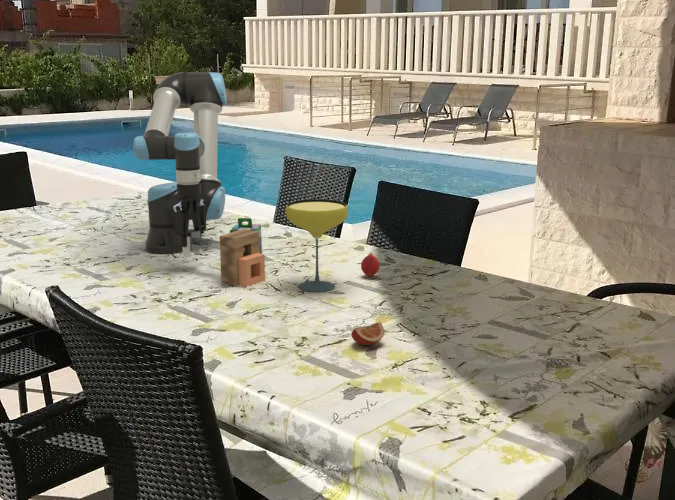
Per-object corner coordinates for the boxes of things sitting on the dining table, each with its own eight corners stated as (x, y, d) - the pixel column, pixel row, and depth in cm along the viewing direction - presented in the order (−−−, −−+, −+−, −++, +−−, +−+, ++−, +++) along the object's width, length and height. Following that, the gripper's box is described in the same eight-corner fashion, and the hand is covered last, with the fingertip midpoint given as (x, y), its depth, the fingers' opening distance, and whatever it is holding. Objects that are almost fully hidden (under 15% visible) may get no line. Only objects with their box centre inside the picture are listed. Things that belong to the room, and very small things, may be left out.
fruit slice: (372, 336, 188) (372, 317, 186) (390, 344, 183) (390, 325, 181) (345, 344, 183) (346, 324, 182) (363, 352, 178) (363, 332, 176)
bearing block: (221, 283, 231) (219, 235, 227) (245, 274, 239) (243, 229, 236) (236, 286, 227) (234, 238, 224) (259, 278, 236) (258, 231, 232)
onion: (377, 280, 234) (378, 255, 232) (359, 279, 235) (359, 254, 233) (380, 275, 240) (381, 250, 238) (362, 274, 241) (363, 249, 239)
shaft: (183, 249, 242) (182, 231, 241) (192, 247, 245) (191, 229, 244) (239, 261, 229) (239, 241, 228) (248, 258, 232) (248, 239, 231)
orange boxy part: (239, 286, 228) (238, 258, 226) (257, 279, 235) (256, 252, 233) (246, 287, 227) (246, 260, 225) (265, 280, 234) (264, 254, 231)
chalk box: (262, 257, 261) (261, 214, 257) (257, 264, 252) (256, 220, 248) (236, 256, 262) (234, 214, 258) (230, 263, 253) (228, 220, 249)
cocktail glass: (340, 297, 217) (341, 212, 211) (279, 293, 221) (278, 209, 214) (352, 280, 234) (352, 200, 228) (295, 276, 238) (294, 198, 232)
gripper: (177, 187, 229) (181, 262, 234) (216, 180, 242) (219, 251, 248) (159, 185, 233) (164, 258, 238) (199, 178, 246) (202, 247, 252)
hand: (192, 254), depth 243 cm, fingers closed on shaft, 4 cm apart
